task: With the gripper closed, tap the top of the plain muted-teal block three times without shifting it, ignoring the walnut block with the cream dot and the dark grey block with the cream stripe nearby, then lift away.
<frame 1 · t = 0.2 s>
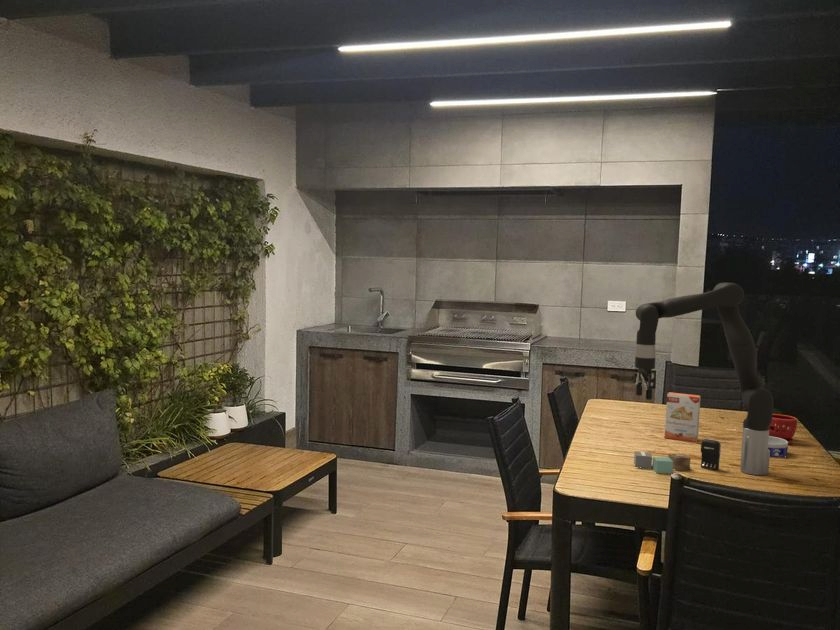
hand: (643, 397, 274), 28 cm above the table, tool pointing down, fingers open, 8 cm apart
plain block: (662, 471, 272), on the table
battery: (709, 469, 277), on the table
stripe block: (642, 466, 278), on the table
dot block: (678, 468, 277), on the table
cracker box: (681, 439, 324), on the table
plant pot: (779, 442, 324), on the table
dog bowl: (767, 453, 304), on the table
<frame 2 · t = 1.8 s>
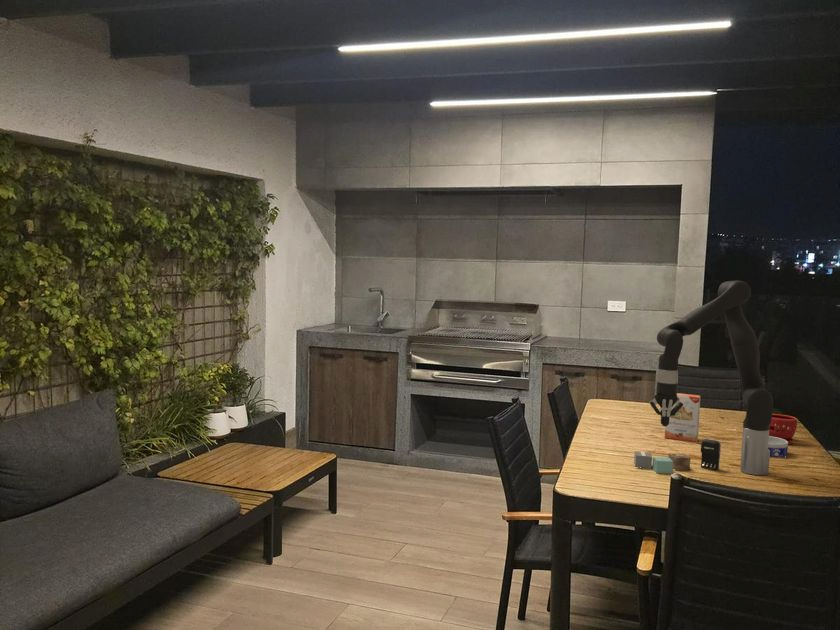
hand: (664, 425, 270), 18 cm above the table, tool pointing down, fingers closed
nothing on the table moved.
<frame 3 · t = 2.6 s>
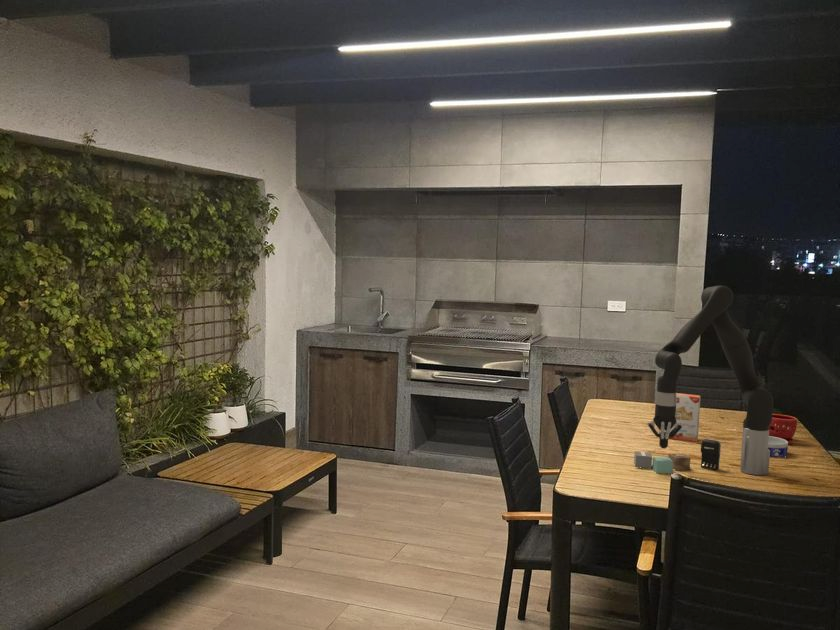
hand: (663, 448, 271), 9 cm above the table, tool pointing down, fingers closed
nothing on the table moved.
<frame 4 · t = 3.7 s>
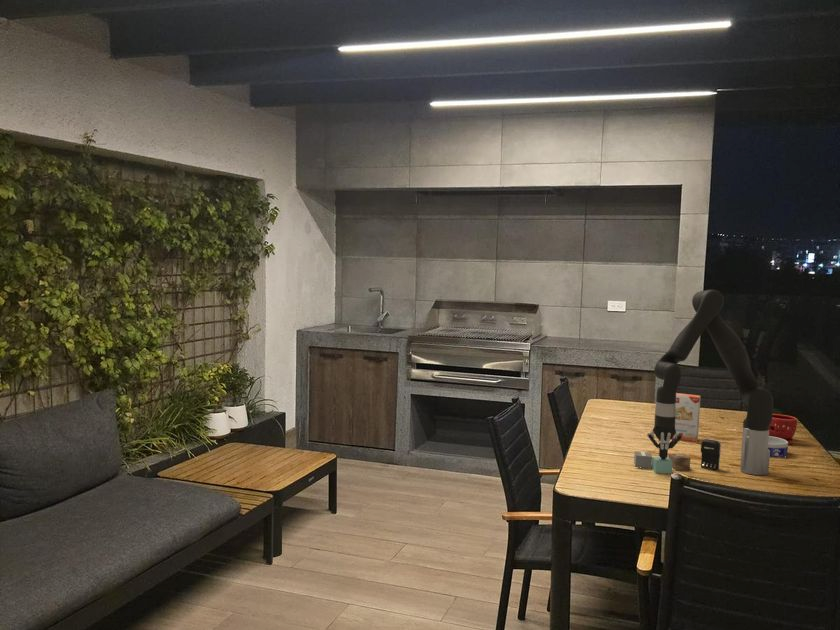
hand: (662, 458, 271), 5 cm above the table, tool pointing down, fingers closed
nothing on the table moved.
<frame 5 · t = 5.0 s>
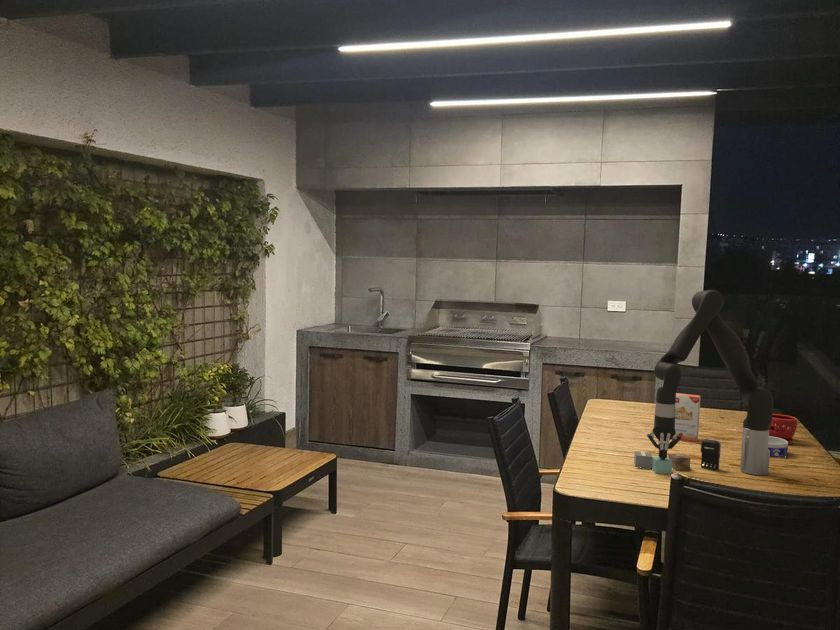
hand: (662, 458, 271), 5 cm above the table, tool pointing down, fingers closed
plain block: (661, 471, 272), on the table, touching gripper
everything else where it was.
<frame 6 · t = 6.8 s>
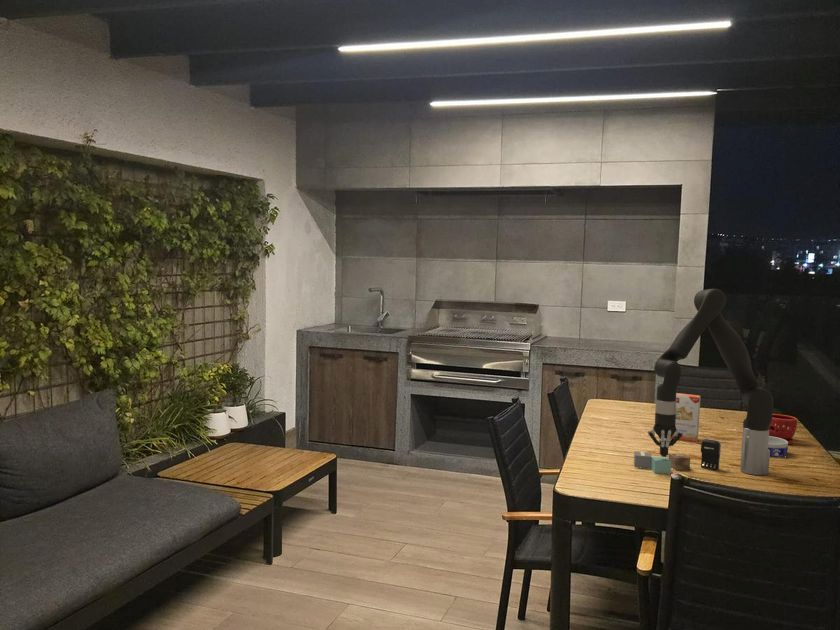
hand: (663, 456, 271), 6 cm above the table, tool pointing down, fingers closed
plain block: (660, 471, 272), on the table
everything else where it was.
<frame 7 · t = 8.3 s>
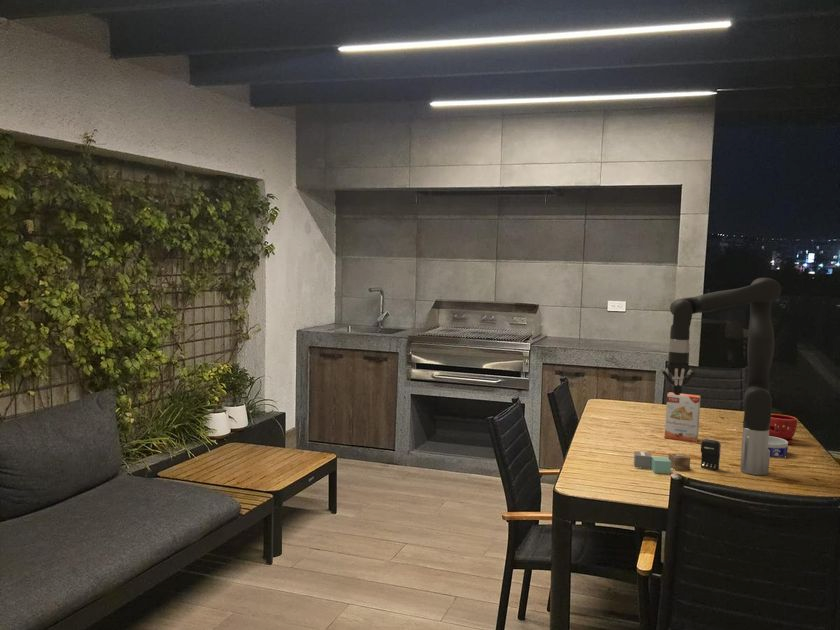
hand: (676, 394, 276), 29 cm above the table, tool pointing down, fingers closed
nothing on the table moved.
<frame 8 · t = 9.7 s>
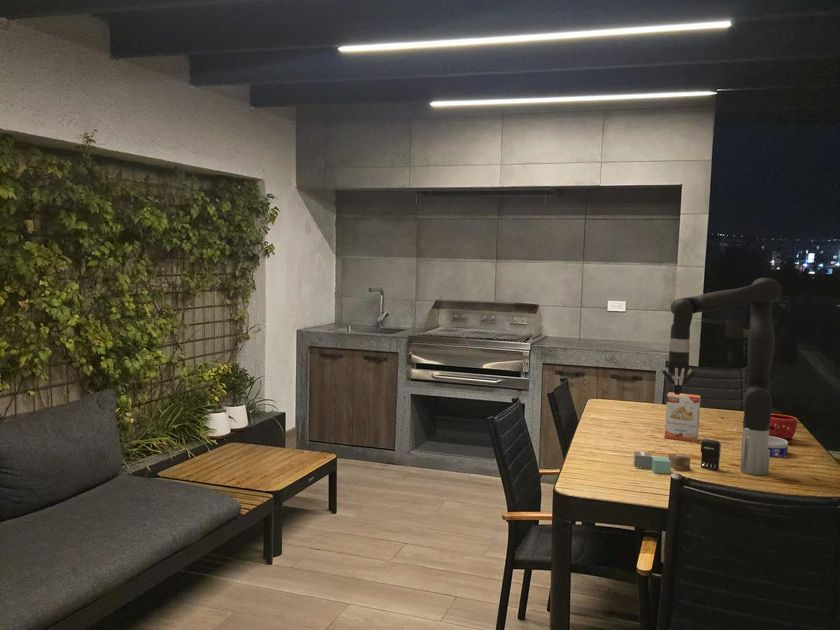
hand: (676, 394, 276), 29 cm above the table, tool pointing down, fingers closed
nothing on the table moved.
at the end: plain block moved 0.7 cm from its start; plain block tilted 0°; stripe block moved 0.2 cm from its start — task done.
